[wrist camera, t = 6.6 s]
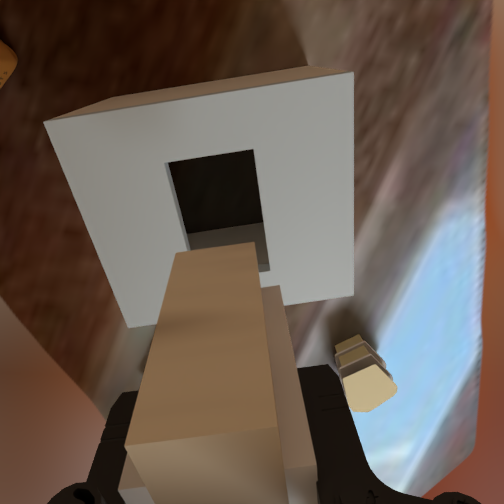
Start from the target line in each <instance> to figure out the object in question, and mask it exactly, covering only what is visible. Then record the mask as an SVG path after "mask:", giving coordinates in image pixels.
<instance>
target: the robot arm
mask: <svg viewBox="0 0 504 504" xmlns="http://www.w3.org/2000/svg"><path fill="white" fill-rule="evenodd" d="M261 292H262V300H263V308H264V316H265V324H266V331H267V339H268V347H269V355H270V363H271V371H272V379H273V386H274V394H275V402H276V410H277V418H278V426H279V434H280V441H281V449H282V457H283V465H284V472H285V479H286V486H287V493H288V499H289V504H481V503H480V502H478V501H477V500H475V499H474V498H472V497H470V496H467V495H464V494H462V493H459V492H444V493H442V494H440V495H439V496H437V497H435V498H434V499H433V500H429V499H424V498H420V497H416V496H412V495H408V494H404V493H401V492H398V491H395V490H393V489H391V488H390V487H388V486H386V485H385V484H384V483H383V482H381V481H380V480H379V479H378V478H377V477H376V476H375V474H374V473H373V472H372V470H371V469H370V467H369V465H368V462H367V460H366V457H365V454H364V451H363V448H362V445H361V442H360V439H359V436H358V433H357V430H356V427H355V424H354V421H353V418H352V415H351V412H350V410H349V406H348V403H347V400H346V397H345V395H344V391H343V388H342V385H341V382H340V378H339V376H338V375H337V374H336V373H335V372H334V371H333V370H332V369H331V367H330V366H329V365H328V364H326V365H318V366H311V367H303V368H297V367H296V362H295V357H294V352H293V348H292V343H291V338H290V333H289V328H288V323H287V318H286V314H285V309H284V304H283V299H282V294H281V289H280V285H276V286H269V287H262V288H261ZM138 393H139V391H131V392H124V393H122V394H121V395H120V397H119V398H118V399H117V401H116V402H115V404H114V405H113V406H112V408H111V410H110V413H109V416H108V419H107V422H106V425H105V427H106V428H105V429H104V431H103V434H102V437H101V443H100V444H99V446H98V449H97V451H96V454H95V457H94V460H93V463H92V466H91V469H90V472H89V475H88V478H87V481H86V482H83V483H75V484H73V485H71V486H68V487H66V488H64V489H62V490H61V491H60V492H59V493H57V494H56V495H55V496H54V497H53V498H51V500H50V501H49V502H48V503H47V504H155V503H154V501H153V499H152V498H151V496H150V494H149V492H148V490H147V488H146V486H145V484H144V483H143V481H142V479H141V477H140V475H139V473H138V471H137V469H136V467H135V466H134V464H133V462H132V460H131V458H130V456H129V454H128V452H127V451H126V449H125V447H124V445H125V441H126V438H127V434H128V430H129V426H130V423H131V419H132V415H133V411H134V408H135V404H136V400H137V396H138Z"/></svg>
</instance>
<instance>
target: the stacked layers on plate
mask: <svg viewBox="0 0 504 504" xmlns="http://www.w3.org/2000/svg"><path fill="white" fill-rule="evenodd" d="M335 349H336V351H337V353H336V354H335V360H336V364H337V368H338V373H339V377H340V381H341V383H342V384H343V389H344V393H345V396H346V397H347V401H348V405H349V407H350V408H351V409H352V411H353V412H369V411H371V410H373V409H374V408H376V407H377V406H379V405H380V404H382V403H383V402H385V401H386V400H388V399H390V398H391V397H392V396H394V395H395V394H396V392H397V385H396V384H395V383H394V382H393V377H392V375H391V374H390V373H389V372H388V371H387V370H386V363H385V361H384V360H383V359H382V358H381V357H380V356H379V355H378V354H377V352H376V351H374V350H373V349H372V348H371V347H370V345H369V344H368V343H367V342H366V341H363V340H362V338H361V337H360V335H359V334H358V335H356V336H354V337H352V338H350V339H347V340H345V341H343V342H341V343H339V344H337V345H335Z"/></svg>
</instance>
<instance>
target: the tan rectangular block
mask: <svg viewBox="0 0 504 504" xmlns="http://www.w3.org/2000/svg"><path fill="white" fill-rule="evenodd" d="M124 447H125V449H126V451H127V452H128V454H129V456H130V458H131V460H132V462H133V464H134V466H135V467H136V469H137V471H138V473H139V475H140V477H141V479H142V481H143V483H144V484H145V486H146V488H147V490H148V492H149V494H150V496H151V498H152V499H153V501H154V503H155V504H289V499H288V493H287V486H286V479H285V472H284V465H283V457H282V449H281V441H280V434H279V426H278V418H277V410H276V402H275V394H274V386H273V379H272V371H271V363H270V355H269V347H268V339H267V331H266V324H265V316H264V308H263V300H262V292H261V284H260V277H259V270H258V263H257V256H256V249H255V242H249V243H242V244H235V245H228V246H220V247H213V248H206V249H199V250H191V251H184V252H177V253H176V254H175V257H174V261H173V265H172V269H171V272H170V276H169V280H168V284H167V287H166V291H165V295H164V299H163V302H162V306H161V310H160V314H159V317H158V321H157V325H156V329H155V332H154V336H153V340H152V344H151V347H150V351H149V355H148V359H147V362H146V366H145V370H144V374H143V378H142V381H141V385H140V389H139V393H138V396H137V400H136V404H135V408H134V411H133V415H132V419H131V423H130V426H129V430H128V434H127V438H126V441H125V445H124Z"/></svg>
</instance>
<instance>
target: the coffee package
mask: <svg viewBox="0 0 504 504" xmlns="http://www.w3.org/2000/svg"><path fill="white" fill-rule="evenodd" d="M17 61H18V58H17V56H16V54H15V53H14V51H13V50H12V49H11V48H10V47H8V46H7V45H6V44H4V43H3V42H2V40H0V89H1V87H2V86H3V85H4V83H5V82H6V81H7V79H8V78H9V76H10V75H11V74H12V72H13V71H14V69H15V67H16V65H17Z"/></svg>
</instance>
